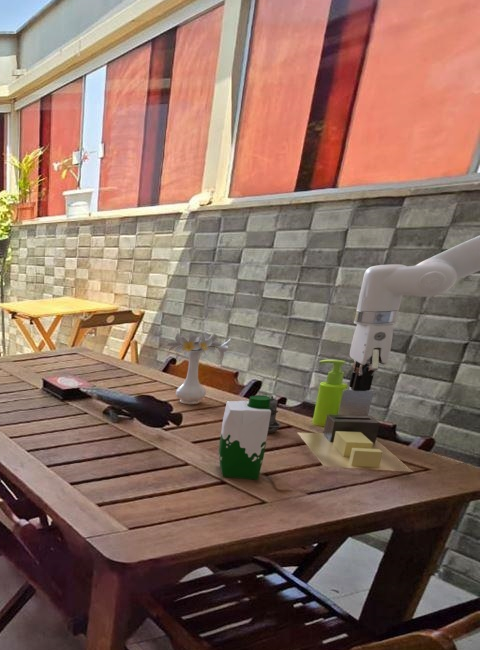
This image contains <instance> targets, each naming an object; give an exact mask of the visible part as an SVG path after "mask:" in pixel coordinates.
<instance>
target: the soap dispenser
mask: <svg viewBox="0 0 480 650" xmlns="http://www.w3.org/2000/svg"><path fill="white" fill-rule="evenodd" d="M318 362H319V364H333V366H332V370H330V371H328V372H327V376H326V379H325V380H326V381H322V382H320V383H319V387H318V392H317V397H316V402H315V405H314V406H315V407H314V411H313V417H312V422H311V423H312V424H313V425H315V426H318V427H324V428H325V423H326V418H327V414H329V415H338V411H339V407H340V402H341V398H342V393H343V390H348V387H349V384H348V383H344V382H343V381H344V376H345V372H344V371H342V366H343V365H345V364H346V363H347V362H346V360H342V359H332V358H331V359H321V360H319V361H318Z"/></svg>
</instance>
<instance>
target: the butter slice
mask: <svg viewBox="0 0 480 650" xmlns="http://www.w3.org/2000/svg"><path fill="white" fill-rule="evenodd" d="M382 454H383V452H382V451H381V450H380V449H366V448H352V450H351V454H350V459H349V464H350V465H351V466H363V467H379V466H380V462H381V458H382Z"/></svg>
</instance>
